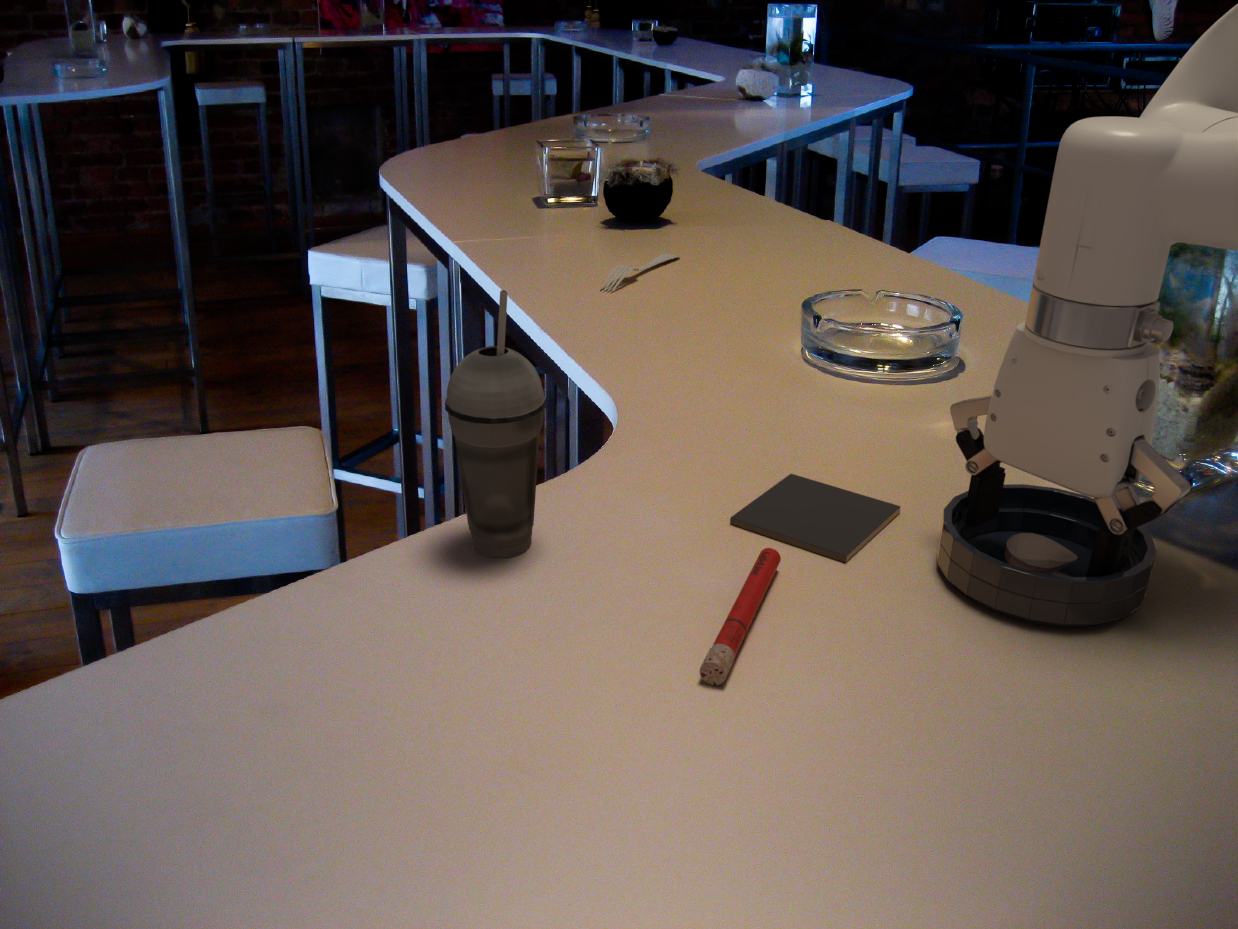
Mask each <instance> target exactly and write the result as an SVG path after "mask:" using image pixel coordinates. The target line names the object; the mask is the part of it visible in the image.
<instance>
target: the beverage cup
mask: <svg viewBox="0 0 1238 929" xmlns="http://www.w3.org/2000/svg"><path fill="white" fill-rule="evenodd" d="M508 292H509V291H508V290H505V289H501V290H500V292H499V305H498V324H497V342H496V345H490V346H489V345H488V346H484V347H481V348H478V349H477V348H476V349H475V350H473V351H472V352H470V353H468V354H467V355H465V356H464V357H463V358H462V359H461V360H460V362H458V364H457V365H456V367H455V368H454V369H453V371H452V372H451V375H450V377H449V379H448V383H447V388H446V397H445V401H444V410H445V411H446V413H447V417H448V418H447V419H448V423H449V426H450V430H451V434H452V435H453V437H454V443H455V449H456V454H457V461H458V462H457V463H458V469H459V474H460V480H461V487H462V488H461V489H462V494H463V499H464V500H463V501H464V507H465V513H466V521H467V525H468V527H467V528H468V530H469V534H470V538H471V544H472V548H473V550H474V551H475V552H476V553H478V554H480V555H481V556H483V557H484V556H485V557H488V558H493V559H503V558H505V559H506V558H511V557H515V556H519V555H521V554H523V553H525V552H526V551H527V550H529V548H530V547H531V546H532V536H533V527H534V524H535V508H536V493H537V477H538V465H539V464H538V462H539V447H540V446H539V445H540V432H541V431H542V427H543V422H544V416H545V408H546V406H547V400H546V396H545V394H544V389H543V385H542V381H541V377H540V375H539V373H538V371H537V370H536V368H535V366H534V365H533V364H532V363H531V362H530V361H529V359H527V358H526V357H525V356H524V355H522V354H521V353H520V352H518V351H516V350H514V349H512V348H509V347H506V330H507V328H506V327H507V311H508Z"/></svg>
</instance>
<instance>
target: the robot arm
mask: <svg viewBox="0 0 1238 929" xmlns="http://www.w3.org/2000/svg"><path fill="white" fill-rule="evenodd" d="M1048 195H1049V196H1048V200H1047V206H1046V212H1045V217H1044V221H1043V222H1044V223H1043V228H1042V233H1041V238H1040V244H1039V249H1038V254H1037V260H1036V265H1035V270H1034V275H1033V280H1032V287H1031V292H1030V297H1029V302H1028V308H1027V313H1026V318H1025V321H1022V322H1020V323H1018V324H1017V325H1016V328H1015V330H1014V332H1013V334H1012V336H1011V338H1010V341H1009V342H1008V345H1007V347H1006V350H1005V352H1004V355H1003V357H1002V360H1001V363H1000V366H999V370H998V372H997V376H996V379H995V382H994V386H993V389H992V392H991V394H989V395H984V396H979V397H973V398H968V399H963V400H961V401H960V400H959V401H957V402H955V403H952V404H951V406H949V407H950V408H949V413H950V415H951V419H952V424H953V427H954V431H956V433H957V434H956V435H955V442H956V444H957V447H958V448H959V449H960V452H961V453H962V455H963V457H964V459H965V460H966V461H965V464H964V467H965V470H966V472H967V473H968V474H969V475H970V479H969V481H970V482H969V485H968V490H969V491H968V490H967V491H968V497H967V502H966V506H967V508H968V512H967V517H966V524H967V525H969V526H971V527H975V526H979V525H981V524H983V523H985V522H987V521H989V520H991V519H993V518H995V517H996V516H997V515H998V512H999V506H1000V501H1001V496H1002V491H1003V486H1004V485H1005V481H1006V480H1005V479H1006V476H1007V475H1006V474H1007V473H1006V472H1005V471H1006V468H1005V467H1002V466H1001V464H1004V465H1007V466H1010V467H1012V468H1014V469H1017V470H1019V471H1021V472H1025V473H1027V474H1029V475H1032V476H1034V477H1037V478H1040V479H1042V480H1044V481H1047V482H1049V483H1052V484H1055V485H1057V486H1059V487H1062V488H1065V489H1067V490H1069V491H1071V492H1074V493H1078V494H1082V495H1085V496H1088V497H1091V498H1093V499H1095V501H1096V504H1097V506H1098V508H1099V510H1100V512H1101V514H1102V516H1103V518H1104V520H1105V522H1106V525H1105V526H1104V527H1102V528H1100V529H1099V530H1098V531H1097V534H1096V538H1095V542H1094V546H1093V550H1092V554H1091V559H1090V563H1089V567H1088V571H1087V577H1102V576H1107V575H1111V574H1113V573H1117V572H1119V571H1120V570H1122V568H1123V567H1124V566H1125V564H1126V561H1127V557H1128V553H1129V550H1130V546H1131V542H1132V538H1133V534H1134V530H1135V528H1136V527H1138V526H1141V525H1142V526H1144V525H1146V524H1148V523H1150V522H1153V521H1154V520H1156V519H1158V518H1160V517H1161V516H1164V515H1165V514H1167V513H1168V512H1169V510H1170V509H1172V508H1173V507H1174V506H1175V505H1176V504H1177V503H1179V501H1181V500H1182V499H1183V498H1184V497H1185V496H1186V495H1187V494H1188V493H1190V490H1191V484H1190V482H1189V481H1188V480H1187V479H1186V478H1185V477H1184V476H1183V475H1182V474H1181V473H1180V472H1179V471H1178V470H1177V469H1175V467H1174V466H1173V465H1172V464H1170V462H1169V461H1167V460H1166V458H1164V457H1163V456H1162V455H1161V454H1160V453H1159V452H1158V451H1157V450H1156V449H1155V448H1154V447H1153V446H1152V444H1153V438H1154V432H1155V426H1156V419H1157V413H1158V412H1157V411H1158V404H1159V394H1160V378H1161V377H1160V375H1161V374H1160V372H1161V371H1160V370H1161V366H1160V365H1161V364H1160V363H1161V362H1160V361H1161V360H1160V359H1161V358H1160V349H1159V348H1158V347H1157V346H1154V345H1151V344H1149V342H1151V341H1155V340H1156V341H1160V342H1163V343H1164V342H1167V341H1168V340H1169V339H1170V337H1171V336H1172V333H1173V331H1174V326H1175V323H1174V321H1173V320H1171V319H1166V318H1164V317H1163V316H1162V315H1160V314H1159V310H1160V307H1161V302H1160V301H1158V300H1159V296H1160V292H1161V288H1162V284H1163V280H1164V276H1165V271H1166V267H1167V263H1168V260H1169V255H1170V251H1171V247H1172V246H1173V245H1175V244H1188V245H1196V246H1202V247H1210V248H1217V249H1221V250H1228V251H1235V252H1238V3H1237V4H1235V5H1234V6H1233V7H1231V8H1230V9H1229V10H1228V11H1227V12H1225V13H1224V14H1223V15H1222V16H1221V17H1220V18H1218V19H1217V20H1216V21H1215V22H1214V23H1213V24H1212V25H1211V26H1210V27H1209V28H1208V29H1207V30H1206V31H1205V32H1203V34H1201V35H1200V37H1199V38H1198V39H1197V40H1196V41H1195V42H1194V44H1193V45H1191V47H1190V48H1189V49H1188V51H1186V53H1185V54H1184V55H1183V56H1182V57H1181V59H1180V60H1179V61H1178V63H1177V64H1176V66H1175V67H1174V68H1173V70H1172V71H1171V73H1170V74H1169V75H1168V76H1167V77H1166V79H1165V81H1164V82H1163V83H1162V85H1161V86H1160V87H1159V89H1158V90H1157V91H1156V93H1155V94H1154V95H1153V97H1152V98H1151V99H1150V101H1149V103H1148V104H1147V105H1146V107H1145V108H1144V110H1143V111H1142V113H1141V115H1140V116H1139V117H1133V116H1114V115H1113V116H1108V115H1107V116H1093V117H1085V118H1082V119H1079V120H1077V121H1075V122H1073V123H1072V124H1070V125H1069V126H1068V127H1067V128H1066V130H1065V132H1064V133H1063V134H1062V136H1061V139H1060V142H1059V145H1058V150H1057V153H1056V159H1055V165H1054V170H1053V174H1052V179H1051V185H1050V191H1049V194H1048ZM981 416H986V418H985V422H984V423H985V424H984V430H983V431H982V430H981V428H979V427H978V425H979V422H978V418H979V417H981ZM1143 478H1144V479H1146V480H1147V481H1148V482H1149V483H1150V485H1152V487H1153V490H1154V491H1153V493H1152V495H1150V497H1149V498H1148V499H1147V500H1145V501H1143V502H1141V500H1140V499H1139V496H1138V495H1137V492H1136V490H1135V488H1134V486H1133V484H1138V483H1139V482H1141V481H1142V480H1143Z"/></svg>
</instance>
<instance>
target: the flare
mask: <svg viewBox="0 0 1238 929" xmlns="http://www.w3.org/2000/svg"><path fill="white" fill-rule="evenodd" d="M781 559H782V556H781V554H780V553H779V551H778V550H776V549H775V548H772V547H766V548H763V549H762V550H760V552H759V555H758V556H757V558H756V560H755V563H754V564H753V566H752V568H751V570H750V572H749V574H748V576H747V578H746V580H745V582H744V583H743V585H742V588H741V590H740V592H739V593H738V595H737V597H736V599H735V601H734V602H733V604H732V607H731V609H730V611H729V613H728V615H727V617H726V619H724V620H725V621H724V623H722V627H721V628H720V630H719V632H718V633H717V636H716V638H715V640H714V641H713V644H712V646H711V647H710V648H709V650H708V651H707V653H706V655H705V657H704V659H703V661H702V664H701V665H700V667H699V670H698V671H699V672H698V673H699V676H700V678H701V679H702V681H703V682H705V683H706V684H708V685H710V686H720V685H722V684H723V683H724V682H725V680H726V678H727V676H728V675H729V672H730V670H731V668H732V666H733V664H734V662H735V658H736V656H737V653H738V651H739V649H740V647H741V645H742V643H743V641H744V639H745V637H746V635H747V633H748V630H749V628H750V626H751V624H752V622H753V619H754V618H755V615H756V614H757V612H758V610H759V608H760V606H761V604H762V601H763V599H764V597H765V594H766V593H767V591H768V588H769V586H770V584H771V582H772V580H773V578H774V576H775V573H776V571H777V569H778V567H779V565H780V563H781V561H782V560H781Z"/></svg>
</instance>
